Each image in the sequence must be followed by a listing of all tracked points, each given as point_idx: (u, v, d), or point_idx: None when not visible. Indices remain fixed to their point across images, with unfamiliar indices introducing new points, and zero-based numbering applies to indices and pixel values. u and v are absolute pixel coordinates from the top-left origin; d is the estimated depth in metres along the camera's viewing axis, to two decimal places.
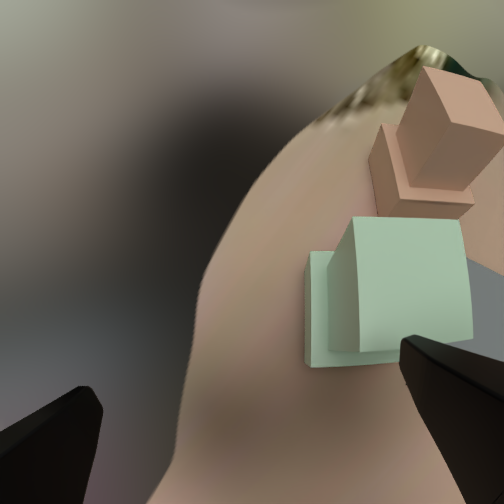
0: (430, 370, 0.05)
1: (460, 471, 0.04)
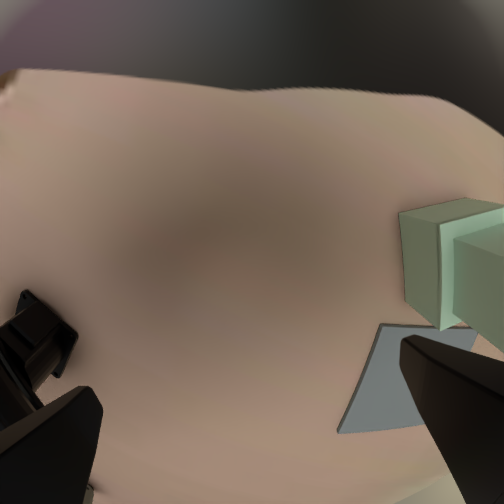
0: (430, 370, 0.05)
1: (460, 471, 0.04)
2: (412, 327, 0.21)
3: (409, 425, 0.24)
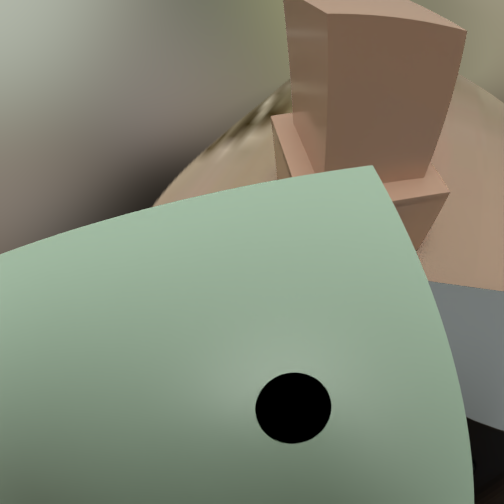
0: None
1: None
2: None
3: None
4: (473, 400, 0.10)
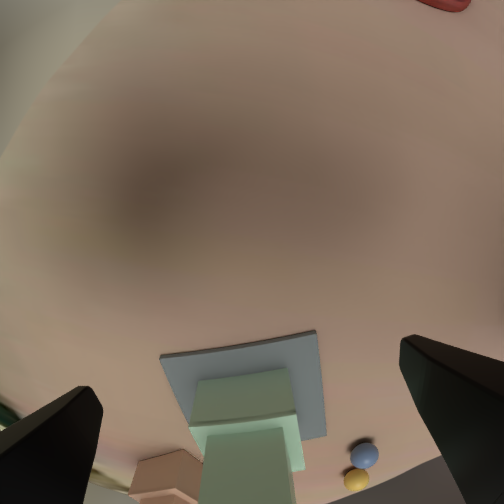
0: (430, 370, 0.05)
1: (460, 471, 0.04)
2: None
3: (202, 356, 0.21)
4: None
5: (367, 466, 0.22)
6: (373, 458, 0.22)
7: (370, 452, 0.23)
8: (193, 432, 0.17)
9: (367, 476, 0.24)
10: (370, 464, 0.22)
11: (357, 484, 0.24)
